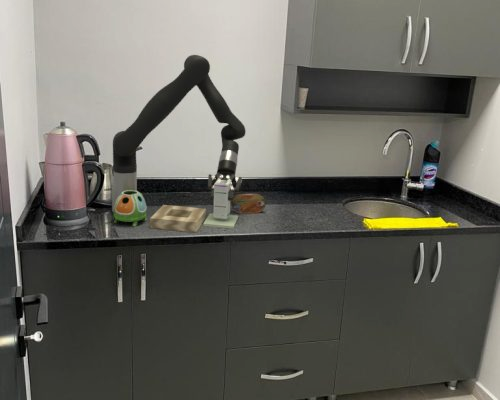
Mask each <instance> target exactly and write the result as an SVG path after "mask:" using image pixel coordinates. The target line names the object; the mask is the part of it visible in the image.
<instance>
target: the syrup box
mask: <svg viewBox="0 0 500 400" xmlns="http://www.w3.org/2000/svg"><path fill="white" fill-rule="evenodd" d="M216 181H217V180H216ZM216 181H215V182H216ZM215 182H214V184H213V185H214V199H213V212H212V213H213V217H214V218H221V219H227V218H228V217H229V215H231V207H232V205H231V202H232V200H231V201H229V194H230V191H231V189H230V187H231V181H226V180H219V181H217V182H216V183H215Z"/></svg>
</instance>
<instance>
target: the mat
mask: <svg viewBox="0 0 500 400" xmlns="http://www.w3.org/2000/svg"><path fill="white" fill-rule="evenodd" d="M238 219H239V215H234V214H230V215H229V217H228V218H227V219H221V218H214V217H213V212H212V213H211V212H210V213H209V214H208V215H207V216H206V219H205V220H204V222H203V223H202V224H203V227H211V228H212V227H213V228H220V229H231V230H233V229H234V228H235V226H236V224H237V221H239V220H238Z"/></svg>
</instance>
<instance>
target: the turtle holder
mask: <svg viewBox="0 0 500 400" xmlns="http://www.w3.org/2000/svg"><path fill="white" fill-rule="evenodd" d="M132 193H135V194H134V195H133V194H132ZM113 209H114V212H113V217H114V218H115V220H114V221H113V223H114V224H118V223H119V222H125V223H127V222H128V223H130V222H132V224H131V226H132V227H137V226H138V222H139V221H143V222H146V221H147V219H148V218H147V203H146V200H145V198H144V196H143V193H141V192H140V191H138V190H137V191H134V190H126V191H123V192H122V193H121V195H120V196H119V197H118V198H117V200H116V202H115V205H114V208H113Z"/></svg>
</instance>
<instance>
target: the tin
mask: <svg viewBox="0 0 500 400" xmlns="http://www.w3.org/2000/svg"><path fill="white" fill-rule="evenodd" d="M266 205H267V202H266V199H265V197H264V196H263V195H261V194H259V193H239V194H236V195H235V196H233V199H232V200H231V208H232V209H233V211H234V212H235V213H236V214H239V215H240V214H241V215H243V214H259V213H261V212H263V210H264V209H265V207H266Z"/></svg>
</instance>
